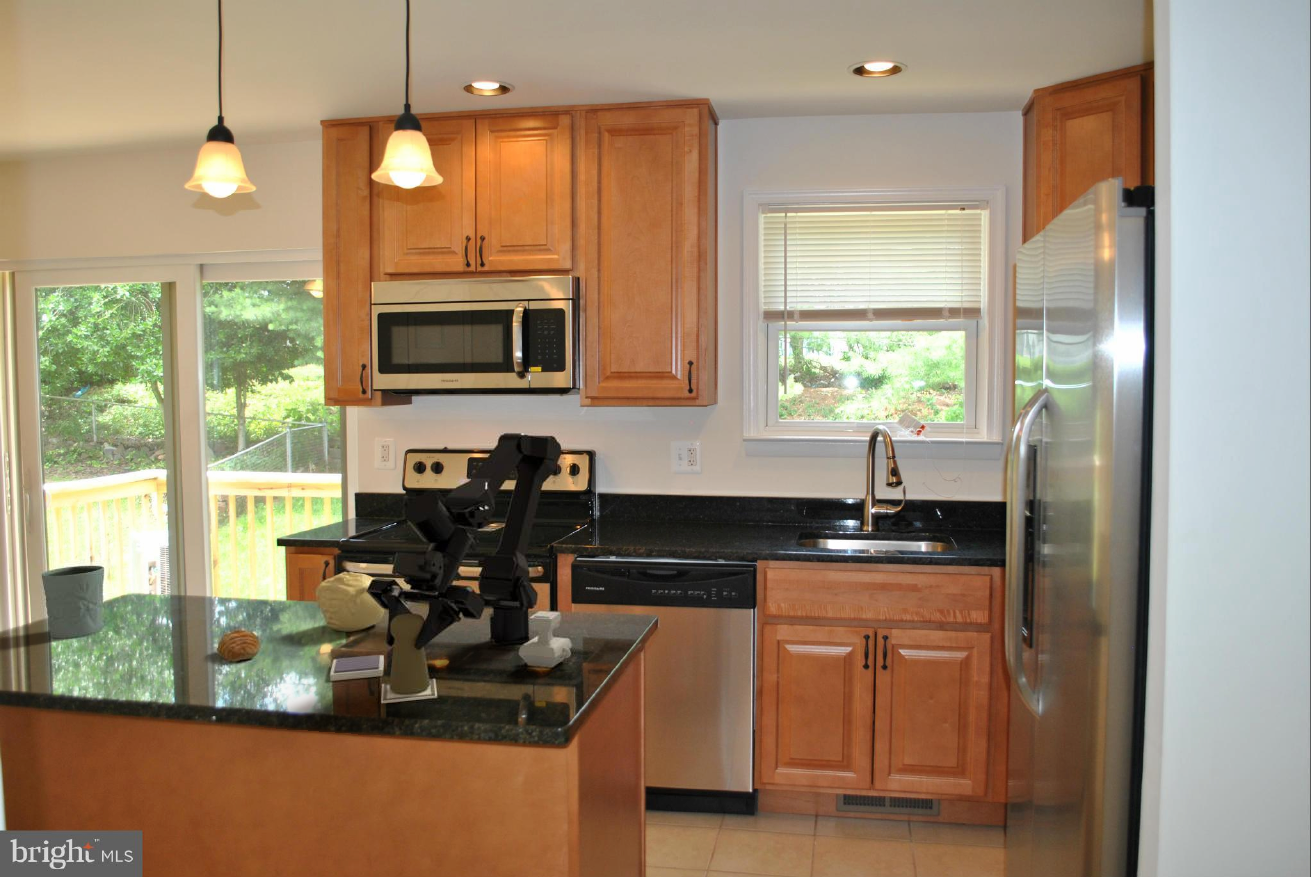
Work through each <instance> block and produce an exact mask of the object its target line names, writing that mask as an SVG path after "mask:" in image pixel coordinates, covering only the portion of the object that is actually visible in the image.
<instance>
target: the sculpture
mask: <svg viewBox="0 0 1311 877" xmlns="http://www.w3.org/2000/svg"><path fill="white" fill-rule="evenodd" d="M373 579H375V578H374V577H372V576H370V575H367V574H364V573H359V572H358V573H356V572H353V571H349V572H347V571H344V572H341V573H339V574H336V575H334V576H332V577H330V578H326V579H325V580H323V581H322V582H321V583H320V584H319V585H318V586H317V587H316V589H315V596H316V605H317V608H319V609H320V611H321V613H322V615H323V618H324V619H325V623H326V625H328V627H330V628H332V629H333V630H335V631H338V632H345V633H346V632H356V631H361V630H364V629H367V628H369V627H372V626H373V625H375V624H377V623H378V622H379V621H381V619H382V618H383V615H384V614H385V610H386V609H383V608H382V607H381V606H380V605H379V604H378V603H377V602H376V601H375V600H374V599H373V598H372V597H371V596H370V595H369V594H368V593H367V592H366V590H367V588H368V586H369V585H370V583H371V581H372V580H373Z"/></svg>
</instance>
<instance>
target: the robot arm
mask: <svg viewBox="0 0 1311 877" xmlns="http://www.w3.org/2000/svg"><path fill="white" fill-rule="evenodd" d="M561 455H562V445H561V444H560V442H558V441H557V439H556V437H555V436H554V435H528V434H525V433H522V432H521V433H520V432H518V433H517V432H514V433H513V432H506V433H503V434H501V435H499V437H498V439H497V444H496V445H495V447H494V448H493V450H492V451H491V452H490V454H489V455H488V456H487V457H486V459H485V460H484V461H483V463H482V464H481V466H480V467H479V468H478V470H477V471H476V472H475V474H474V475H473V476H472V478H470V479H469V481H467V482H464V483H462V484H460V485H458V486H456V487H455V488H454V489H453V490H452V491H451V492H449V493H448V495H447V496H445V498H443V496H442V494H441V492H440V491H439V490H438V489H435V488H434V489H433V488H432V489H431V488H429V489H428V488H427V489H426V490H425V492H424V493H423V494H422V495H418V496H417V497H416V498H414V499H413V500H411V502H409V503H408V504H407V505H406V507H405V509H404V514H403V515H404V518H405V520H406V521H407V523H408V524H409V525H410V526H411V527H412V528H413V530H414V531H415V532H416V534H418V536H419V537H420V538H421V539H422V541H424V542H425V543H427V544H430V545H429V548H428V550H427V552H426V553H425V554H424V553H422V554H421V553H420V554H419V553H407V552H396V553H395V556H394V560H393V564H392V565H393V566H392V570H391V574H393V575H399V576H402V577H404V579H403V582H404V583H405V584H406V585H409V586H410V587H409V589H408V588H403V587H402V586H401V585H400V584H399V582H398V581H397V580H395V579H392V578H383V577H376V578H374V579H373V580H372V581H371V583H370V585H369V586H368V588H367V590H366V592H367V593H368V594H369V595H370V596H371V597H372V598H373V599H374V600H375V601H376V602H377V603H378V604H379V605H380V606H381V607H382V608H383V609H385V610H386V611H388V618H387V619H388V621H387V629H386V630H387V631H386V642H385V643H386V646H388V647H393V646H394V639H395V638H394V637H393V636H392V634H391V627H390V625H391V622H392V620H393V619H394V618H395V617H396V616H398V615H402V614H414V613H413V612H412V611H411V609H410V608H409V606H410V604H411V603H416V604H425V605H426V604H428V613H427V615H426V618H424V620H425V622H424V624H423V626H422V628H421V631H420V633H419V635H418V637H417V640H416V643H415V648H416V649H417V650H420V649H422V648H423V647H424V648H425V646H426V645H428V644H429V643H430V642H431V641H432V640H434V639H435V638H436V637H437V636H439V635H440V634H441V633H442V632H443V631H445V630H446V629H448V628H450V627H451V626H452V625H453V624H455V623H460V622H461V621H462V617H463V618H464V619H469V620H480V619H481V618H482V615H483V613H484V610H485V608H489V607H490V608H491V613H489V614H488V630H489V631H488V633H489V635H488V636H489V639H490V640H491V641H492V642H493V645H494V646H501V645H504V646H505V645H512V644H525V643H527V642H529V641H530V640H532V638H531V637H530V626H529V618H530V617H529V610H530V609H531V610H532V609H535V606H537V604H538V603H537V602H538V596H539V593H538V591H537V590H536V589H535V588H534V586H533V584H532V583H531V582H530V575H531V574H530V573H531V571H530V568H529V566H528V565H529V564H528V562H527V559H526V552H527V549H528V546H529V545H528V544H529V541H530V538H531V532H532V528H533V524H534V521H535V516H536V513H537V508H538V504H539V501H540V498H541V497H540V496H541V492H542V488H543V485H544V483H545V482H546V481H547V480H548V479H549V478H550V477H551V476H552V475H553V474H554V473H555V471H556V468H557V467H558V466H557V465H558V463H559V460H560V458H561ZM514 469H515V473H516V476H517V477H516V479H515V484H514V488H513V492H512V496H511V500H510V504H509V507H508V511H507V515H506V519H505V521H504V527H503V531H502V532H501V537H500V540H499V544H498V548H497V550H496V551H495V552H494V553H493V554H485V557H483V561H482V565H481V566H482V567H481V569H480V572H479V574H478V576H479V579H478V582H477V583H478V584H477V586H478V591H479V594H478V593H477V592H476V590H474V588H473V587H472V586H471V585H462V584H460V585H459V584H453V583H454V581H455V582H459V581H460V579H461V578H462V575H461V573H459V572H460V571H459V570H460V568H461V565H462V563H463V560H464V558H465V556H466V554H467V553H468V552H470V553H471V552H475V553H476V551H477V544H476V541H475V540H474V539H475V538H474V535H473V534H469V533H468V532H467V530H466V529H472V530H483V529H484V528H485V527H486V526H487V525H488V523H489V521H490V519H491V517H492V515H493V513H494V512H495V509H496V505H495V498H496V495H497V494H498V492H499V491H500V489H501V488H502V487H503V485H504V484H505V483H506V481H507V479H508V478H509V477H510V475H511V474H512V472H513V471H514ZM479 595H480V596H479ZM460 615H462V617H461V616H460Z"/></svg>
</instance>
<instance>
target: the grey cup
mask: <svg viewBox="0 0 1311 877" xmlns="http://www.w3.org/2000/svg"><path fill="white" fill-rule="evenodd" d="M104 577H105V567H104V566H102V565H79V566H78V565H77V566H68V567H67V566H66V567H61V568H60V567H59V568H56V569H51V570H50V569H49V570H47V571H44V572H42V573H41V578H42V579H41V581H42V585H43V589H44V596H45V608H46V614H47V619H48V630H49V635H50V637H51V638H53V639H59V640H60V639H61V640H62V639H64V640H65V639H75V638H76V639H77V638H82V637H87V636H92V635H95V634H97V633H100V632H102V630H103V627H104V626H103V625H104V624H103V623H104V613H103V609H104V580H105V579H104Z"/></svg>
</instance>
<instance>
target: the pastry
mask: <svg viewBox="0 0 1311 877" xmlns="http://www.w3.org/2000/svg"><path fill="white" fill-rule="evenodd" d="M260 647H261V643H260V641H259V637H258V635H256V634H255V632H249V630H246V629H234V630H232V631H230V632H229V633H228V632H227V633H225V634H224V636H222V637H221V638H220V641H219V642H218V644H217V648H216V652H217V654H218V656H219V657H220V658H222V659H223V660H225V661H227V662H233V663H235V662H238V661H241V660H249V659H254V657H255V656H256V655H258V654H259V652H260V651H259V650H260ZM257 653H258V654H257Z"/></svg>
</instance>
